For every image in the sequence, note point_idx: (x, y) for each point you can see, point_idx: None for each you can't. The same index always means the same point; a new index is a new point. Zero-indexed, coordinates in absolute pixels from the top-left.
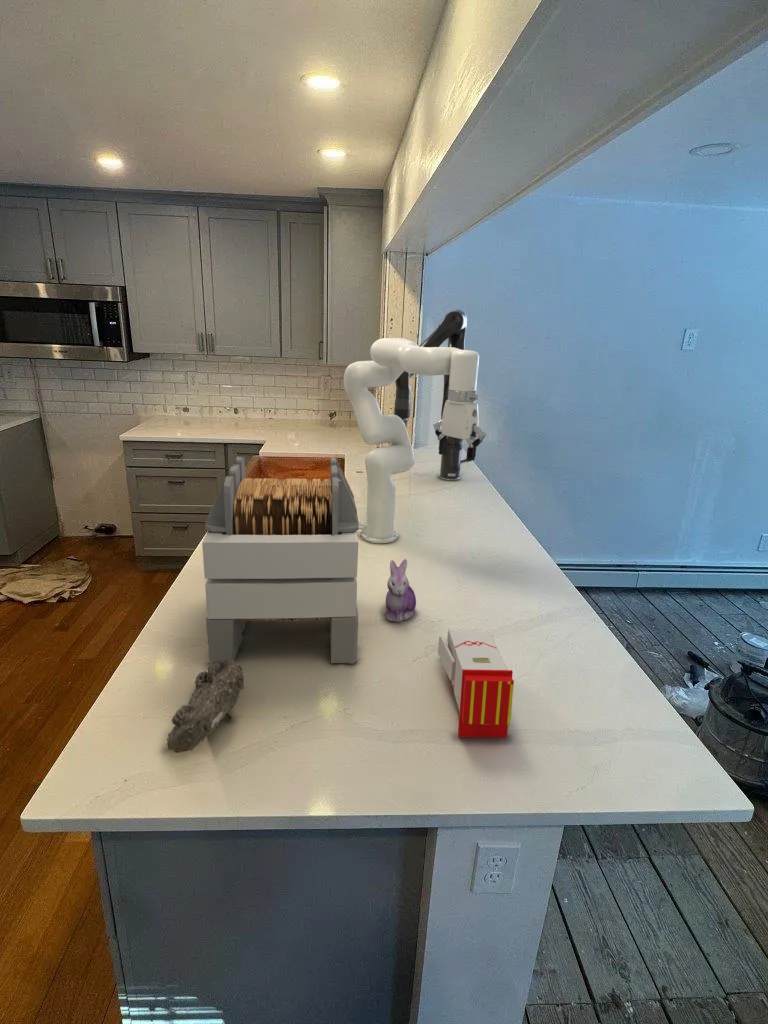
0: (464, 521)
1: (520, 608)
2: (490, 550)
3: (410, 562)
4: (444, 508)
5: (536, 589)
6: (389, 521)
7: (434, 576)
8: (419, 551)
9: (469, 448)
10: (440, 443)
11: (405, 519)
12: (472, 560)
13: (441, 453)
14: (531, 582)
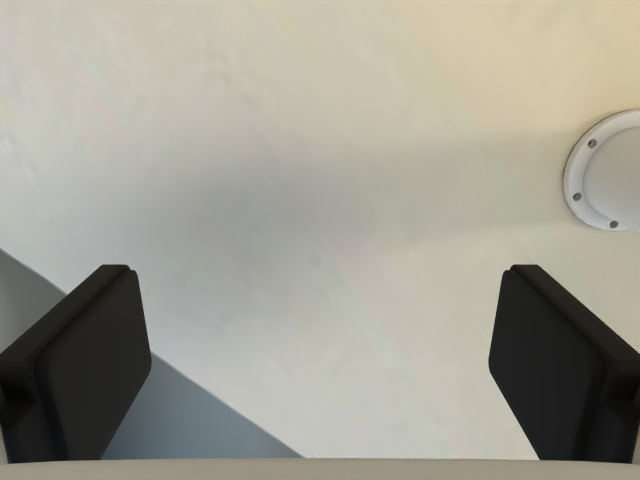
0: (477, 433)
1: (35, 92)
2: (313, 331)
3: (431, 92)
4: None
5: (87, 221)
6: (623, 182)
7: (317, 69)
8: (457, 180)
9: (5, 358)
10: (597, 335)
11: (626, 334)
12: (308, 244)
13: (506, 281)
14: (121, 246)
